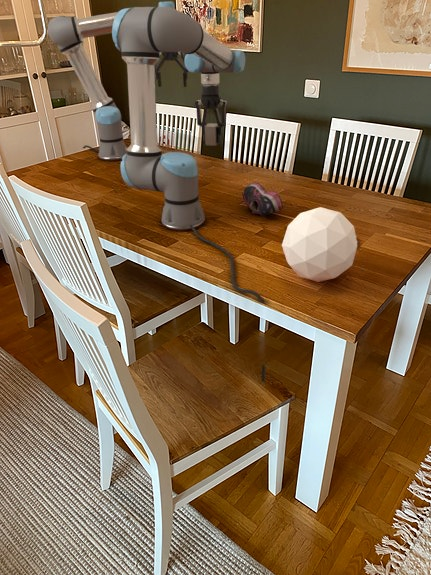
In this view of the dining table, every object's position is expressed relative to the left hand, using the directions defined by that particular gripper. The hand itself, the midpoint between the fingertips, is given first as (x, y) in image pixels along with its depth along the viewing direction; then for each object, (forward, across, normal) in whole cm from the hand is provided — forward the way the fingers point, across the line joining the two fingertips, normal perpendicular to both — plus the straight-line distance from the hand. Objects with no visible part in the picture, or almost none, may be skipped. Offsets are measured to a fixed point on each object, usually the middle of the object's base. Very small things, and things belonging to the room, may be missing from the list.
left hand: (172, 86), depth 227 cm
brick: (+17, +31, -43) cm, 55 cm away
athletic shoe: (+30, +58, -83) cm, 106 cm away
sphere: (+30, +81, -126) cm, 152 cm away
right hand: (+16, +31, -43) cm, 55 cm away
